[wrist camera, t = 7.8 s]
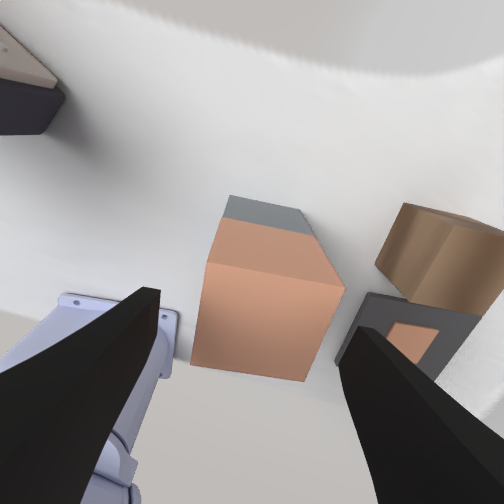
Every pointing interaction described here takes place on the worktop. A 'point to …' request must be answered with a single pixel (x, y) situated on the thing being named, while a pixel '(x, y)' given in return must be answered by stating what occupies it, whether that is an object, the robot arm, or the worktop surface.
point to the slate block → (267, 215)
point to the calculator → (25, 90)
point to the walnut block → (444, 260)
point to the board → (415, 330)
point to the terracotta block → (264, 301)
